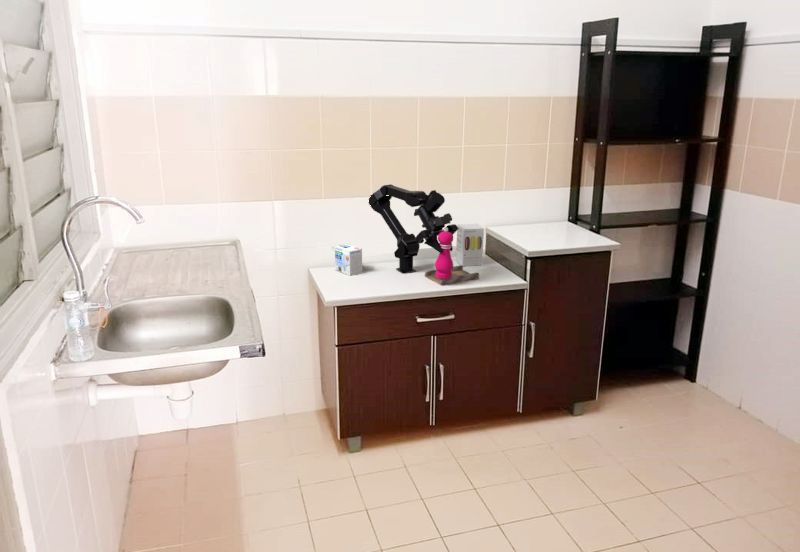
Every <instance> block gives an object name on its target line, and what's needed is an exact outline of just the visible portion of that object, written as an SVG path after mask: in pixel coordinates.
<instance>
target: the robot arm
mask: <svg viewBox="0 0 800 552" xmlns="http://www.w3.org/2000/svg"><path fill="white" fill-rule="evenodd" d="M386 195H389V196H386ZM370 196H371V197H370ZM370 196H369V197H370V198H368V200H369V202H368V205H369V206H370V205H371V206H370V208H371V209H372V210H373V211H374V212H376V213H377V214H379V215H380V216H381V217H382V219H383V220H384V222H385V224H387V227H388V229H389V230H390V231H391V232H392V235H393V236H394V238H395V239H396V246H397V249H396V250H395V251H394V253H393V254H394V257H395V258H396V259H398V264H399V265H398V267H396V268H395V269H396V270H397V271H398V272H400V273H401V274H409V273H414V272H416V271H417V270H416V269H415V268H414V257H417V256H418V255H419V250H420V246H421V245H420V244H423V243H424V245H427V246H429V247H431V248H432V249H434V250H435V251H437V252H438V253H441V254H442V253H443V250H442V248H441V246H440V244H439V243H440V242H439V241H438V235H439V234H440V233H441V232H443V231H444V228H448V232H451V233H452V235H453V236H454V235H455V233H457V230H458V227H457V225H458V224H455V223H453V224H451V222H452V221H453V216H452V215H451V214H450V212H449V213H445V214H443V216H438V215H437V216H436V215H435V212H436V213H437V211H438V210H439V209H440V207H442V206H443V204H444V203H445V202H446V199H445V197H444V195H442V194H441V193H439V192H437V191H436V190H435V189H433V190H430V192H429V193H428V194H427V193H426V192H425V191H423V190H408V189H407V188H406V189H405V188H402V187H399V186H395V185H393V184H384V185H382V186H380V188H378V190H376V191H375V192H373V193H372V194H370ZM392 198H395V199H399V200H401V201H403V202H404V203H405V204H406V205H408V206H410V208H414V207H418V208H416V209H414V213H413V217H416V216H417V217H419V219H420V221H421V223H422V225H421V227H422V228H425V229H423V230H420V231H419V233H418V234H417V235H416V236H415V234H414V233H408V232H407V230H405V228H404V227H403V225H402V223H401V221H399V219H398V218H397V216H396V214H395V212H394V211H393V210H392V209H391V208H392V207H391V201H390V200H392ZM446 225H447V226H446ZM424 240H425V241H424ZM451 244H452V245H451V246H452V247H451V248H450V252H452V251H453V250H454V248H453V241H452V242H451Z"/></svg>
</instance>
